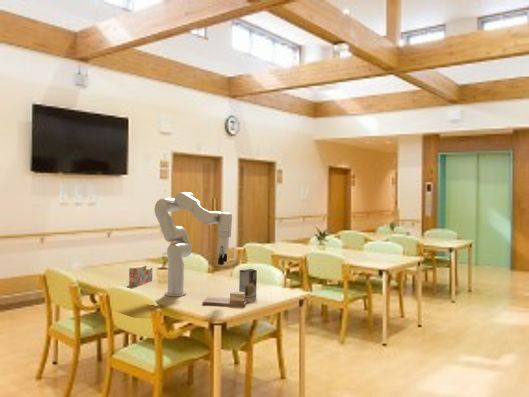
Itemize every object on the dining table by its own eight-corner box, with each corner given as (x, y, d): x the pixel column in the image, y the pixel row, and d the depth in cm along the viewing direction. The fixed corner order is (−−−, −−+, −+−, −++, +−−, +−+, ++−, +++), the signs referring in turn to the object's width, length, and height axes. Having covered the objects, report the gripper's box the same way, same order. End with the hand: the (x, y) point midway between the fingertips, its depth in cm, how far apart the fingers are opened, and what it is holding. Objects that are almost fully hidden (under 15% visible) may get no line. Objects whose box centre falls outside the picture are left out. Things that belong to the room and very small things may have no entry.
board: (207, 299, 275) (207, 297, 275) (247, 301, 273) (247, 299, 273) (202, 304, 263) (202, 302, 263) (244, 306, 261) (244, 304, 261)
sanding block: (231, 299, 270) (231, 291, 270) (244, 300, 270) (245, 292, 269) (229, 301, 265) (230, 293, 265) (243, 302, 265) (244, 293, 264)
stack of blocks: (144, 280, 329) (144, 262, 329) (152, 280, 328) (152, 263, 328) (128, 286, 308) (129, 267, 308) (137, 286, 307) (137, 268, 307)
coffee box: (249, 294, 293) (250, 268, 293) (256, 296, 289) (257, 270, 288) (238, 296, 287) (239, 269, 287) (245, 298, 283) (245, 271, 282)
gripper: (220, 231, 280) (218, 260, 281) (215, 235, 263) (212, 265, 264) (233, 232, 280) (231, 261, 280) (228, 236, 263) (226, 266, 263)
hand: (222, 263), depth 272 cm, fingers open, 9 cm apart
